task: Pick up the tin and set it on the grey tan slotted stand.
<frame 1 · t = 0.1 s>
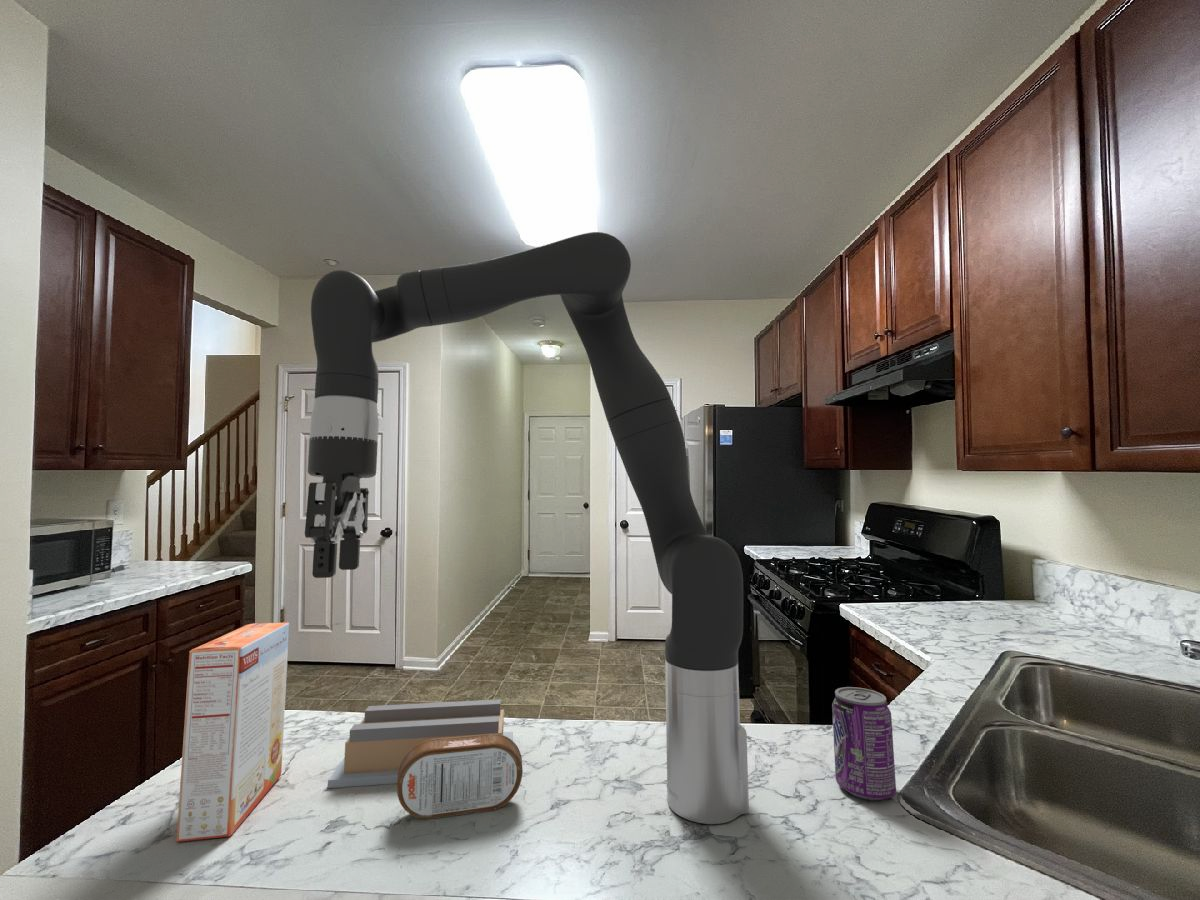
hand: (337, 573, 62), 29 cm above the countertop, tool pointing down, fingers open, 8 cm apart
tin: (460, 813, 64), on the countertop
cracker box: (232, 809, 65), on the countertop
grey tan slotted stand: (429, 760, 77), on the countertop
beverage can: (865, 792, 69), on the countertop
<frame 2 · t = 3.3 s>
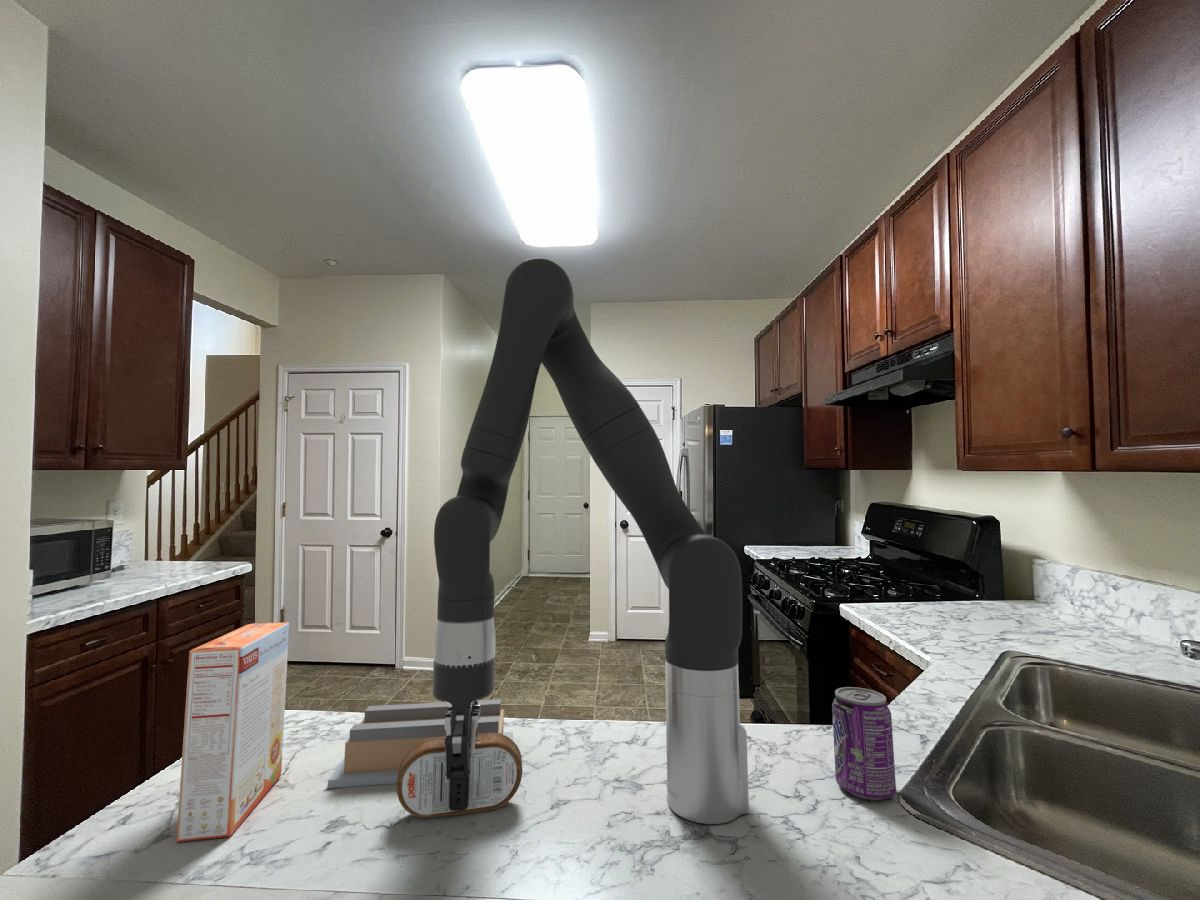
hand: (460, 800, 64), 1 cm above the countertop, tool pointing down, fingers closed on tin, 3 cm apart
tin: (460, 813, 64), on the countertop, touching gripper
everything else where it was.
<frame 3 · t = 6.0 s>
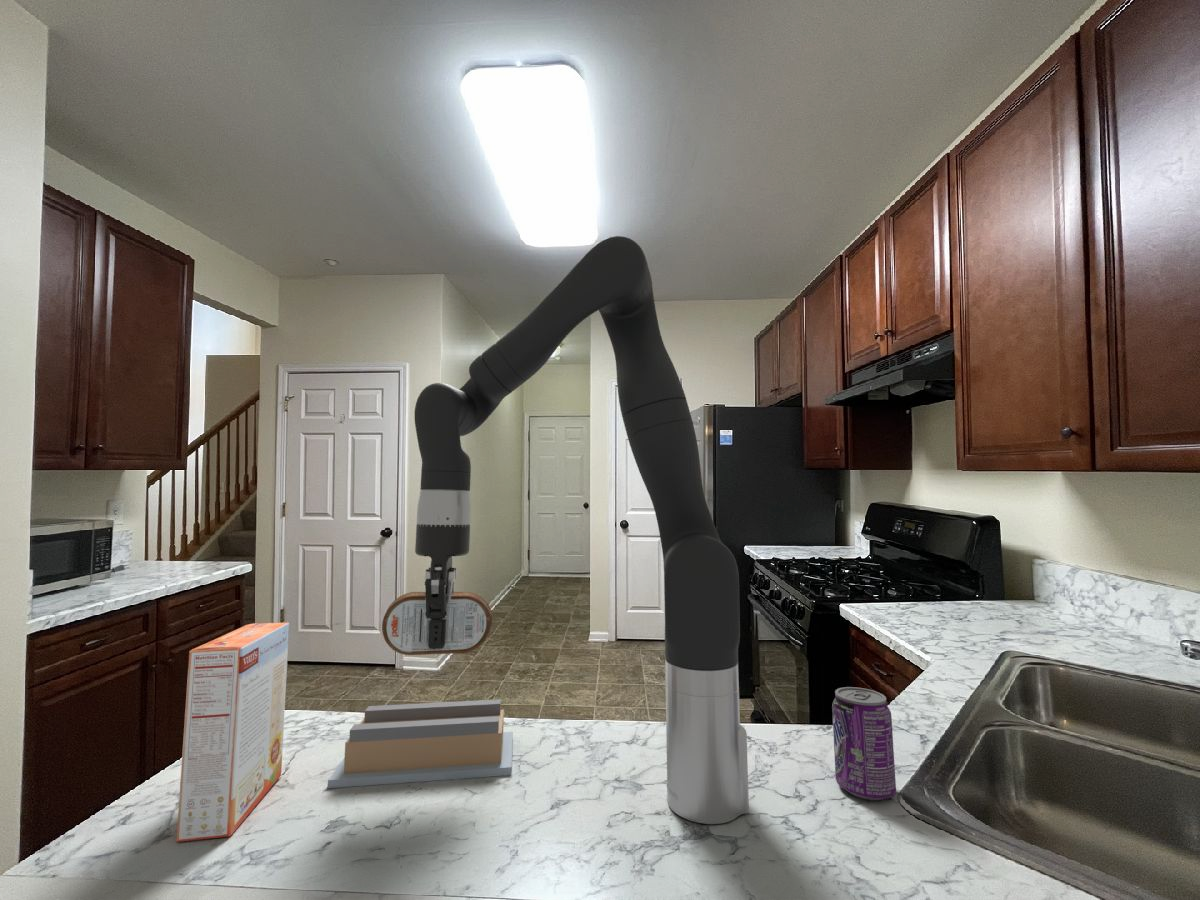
hand: (438, 644, 74), 18 cm above the countertop, tool pointing down, fingers closed on tin, 2 cm apart
tin: (436, 654, 74), point 16 cm above the countertop, touching gripper
everything else where it was.
when the fingers open (8 cm above the countertop, at t = 8.7 s): tin drops 2 cm, resting on grey tan slotted stand.
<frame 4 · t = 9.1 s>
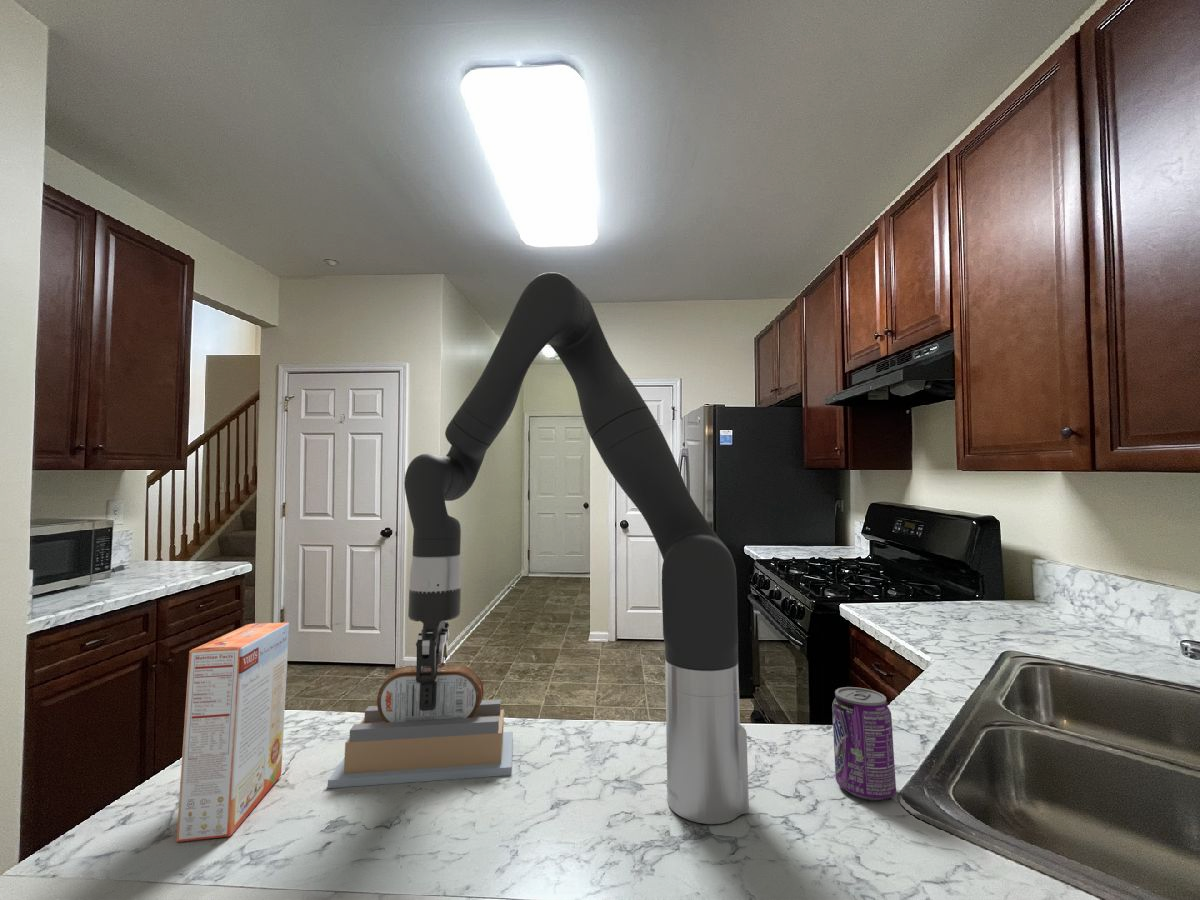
hand: (431, 701, 78), 8 cm above the countertop, tool pointing down, fingers open, 6 cm apart
tin: (429, 727, 77), point 5 cm above the countertop, touching grey tan slotted stand
everything else where it was.
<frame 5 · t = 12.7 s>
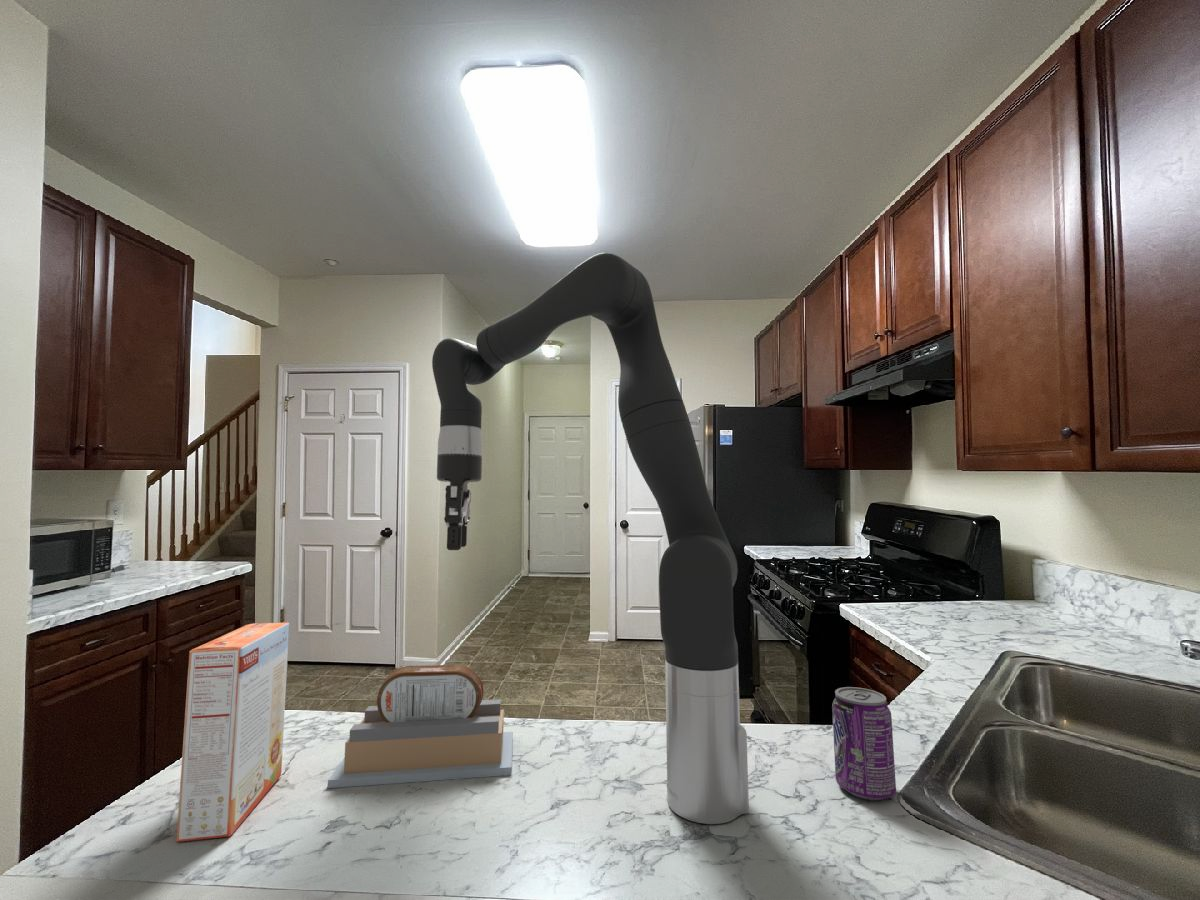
hand: (457, 548, 90), 30 cm above the countertop, tool pointing down, fingers open, 8 cm apart
nothing on the countertop moved.
at the end: tin 0.5 cm off-centre on the grey tan slotted stand, point 4.8 cm above the grey tan slotted stand's base; tin tilted 0°; the gripper is holding nothing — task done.
